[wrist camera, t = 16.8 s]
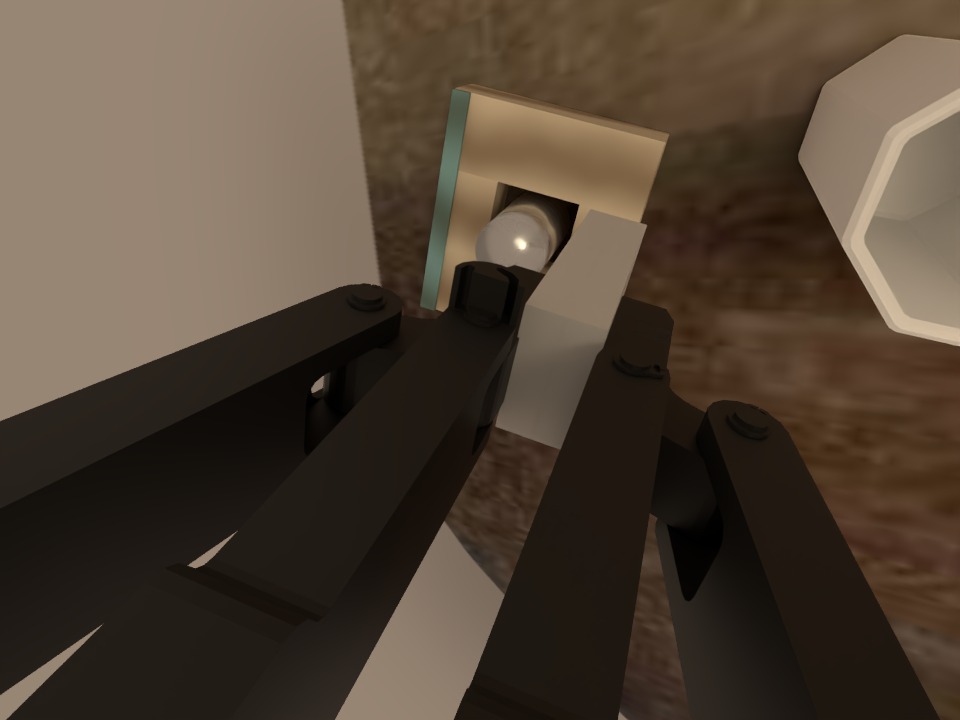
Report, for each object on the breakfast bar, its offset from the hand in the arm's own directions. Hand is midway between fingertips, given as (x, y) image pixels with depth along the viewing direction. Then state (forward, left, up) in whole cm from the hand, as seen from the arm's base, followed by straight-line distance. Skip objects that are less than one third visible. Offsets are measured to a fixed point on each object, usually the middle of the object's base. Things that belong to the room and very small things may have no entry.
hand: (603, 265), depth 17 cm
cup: (-2, +13, -30) cm, 32 cm away
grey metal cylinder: (+9, -7, -29) cm, 32 cm away
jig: (+9, -7, -29) cm, 32 cm away
